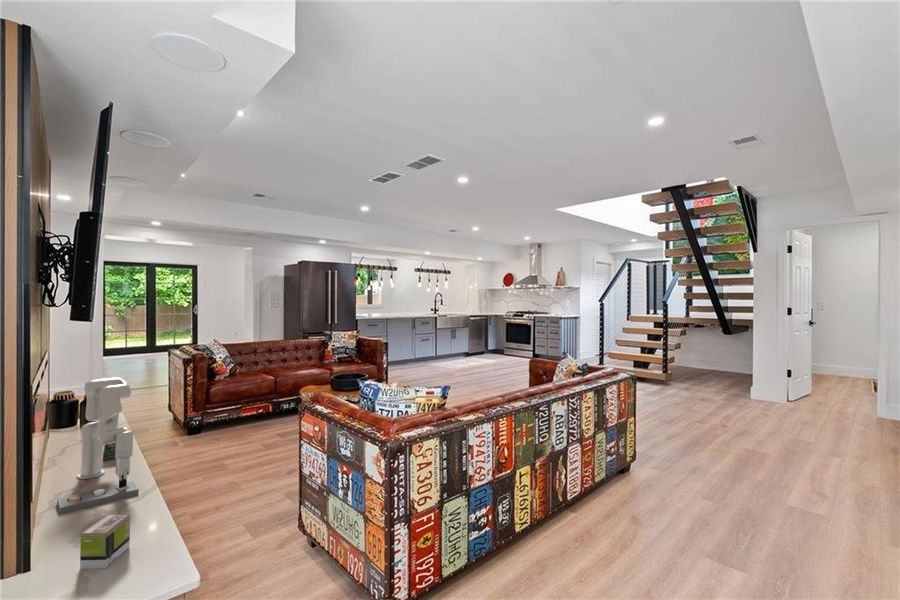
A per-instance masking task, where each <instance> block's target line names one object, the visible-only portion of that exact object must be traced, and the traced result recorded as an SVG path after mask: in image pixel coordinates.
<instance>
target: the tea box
mask: <svg viewBox="0 0 900 600" xmlns="http://www.w3.org/2000/svg"><path fill="white" fill-rule="evenodd" d="M130 533H131V514H107V515H105V516H104V517H102V518H100V519H99V520H98V521H96V522H95V523H94V524H92V525H91V526H89V527H88V528H87V529H85V530H84V531H83V532H81V533H80V553H79V556H80V558H79V559H80V561H79V565H80V566H79V568H80V569H81V570H88V569H89V570H91V569H97V570H99V569H98V568H101V569H106V568H108V567H109V566H110V565H111V564H112V563H114V561H116V559H118V558H119V557H120V556H121V555H122V554H124V553H125V552H126V551H127V550H129V548H130V544H131V542H130V541H131V539H130V538H131V537H130V536H131V534H130ZM109 564H110V565H109Z"/></svg>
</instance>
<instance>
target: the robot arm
mask: <svg viewBox="0 0 900 600" xmlns="http://www.w3.org/2000/svg"><path fill="white" fill-rule="evenodd" d="M131 394H132V389H131V387H130V385H129V383H127V381H125V380H124V379H123V378H121V377H108V378H98V379H91V380H89V381H87V382H85V384H84V395H85V396H86V406H85V419H86V420H87V421H88V423H85V424H83V425H82V426H81V427H80V437H81V459H80V461H81V463H80V464H81V465H80V473H78V474H77V475H76V477H77V479H80V480H88V479H93V478H97V477H100V476H102V475H104V474H105V469H102V462H103V445H104V446H105V445H106V444H111V443H116V453H115V458H117V459H115V460H116V461H115V471H114V472H115V474H116V476H117V477H118V484H119V488H123V487H126V486H127V482H128V480H127V479H128V476H129V475H130V472H131V457H132V456H133V453H134V451H133V447H134V446H133V445H134V431H133V430H131V429H130V428H129V427H128V426H127V427H126V426H124V427H118V426H119V415H120V413H121V412H123V405H122V402H121V400H122V399H127V398H129V397H131Z"/></svg>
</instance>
